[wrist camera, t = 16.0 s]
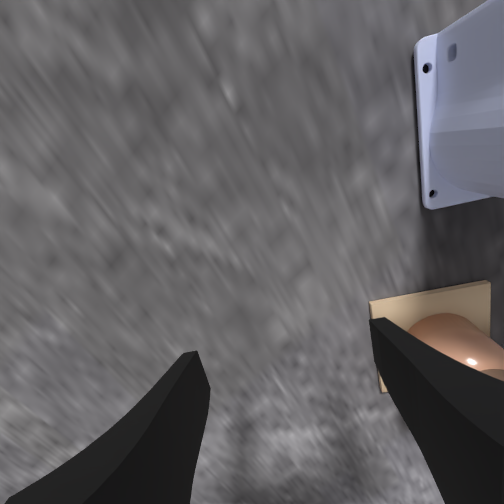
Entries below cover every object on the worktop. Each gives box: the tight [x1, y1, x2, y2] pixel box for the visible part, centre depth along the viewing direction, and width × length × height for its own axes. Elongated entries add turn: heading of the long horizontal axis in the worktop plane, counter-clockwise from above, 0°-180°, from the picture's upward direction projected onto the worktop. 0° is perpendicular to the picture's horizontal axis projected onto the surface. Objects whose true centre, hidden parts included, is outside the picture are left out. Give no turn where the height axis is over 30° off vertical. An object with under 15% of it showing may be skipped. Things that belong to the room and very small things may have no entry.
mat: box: [369, 280, 491, 392], centre depth 22 cm, size 8×8×1 cm
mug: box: [407, 313, 504, 381], centre depth 20 cm, size 9×6×5 cm, turn 13°
